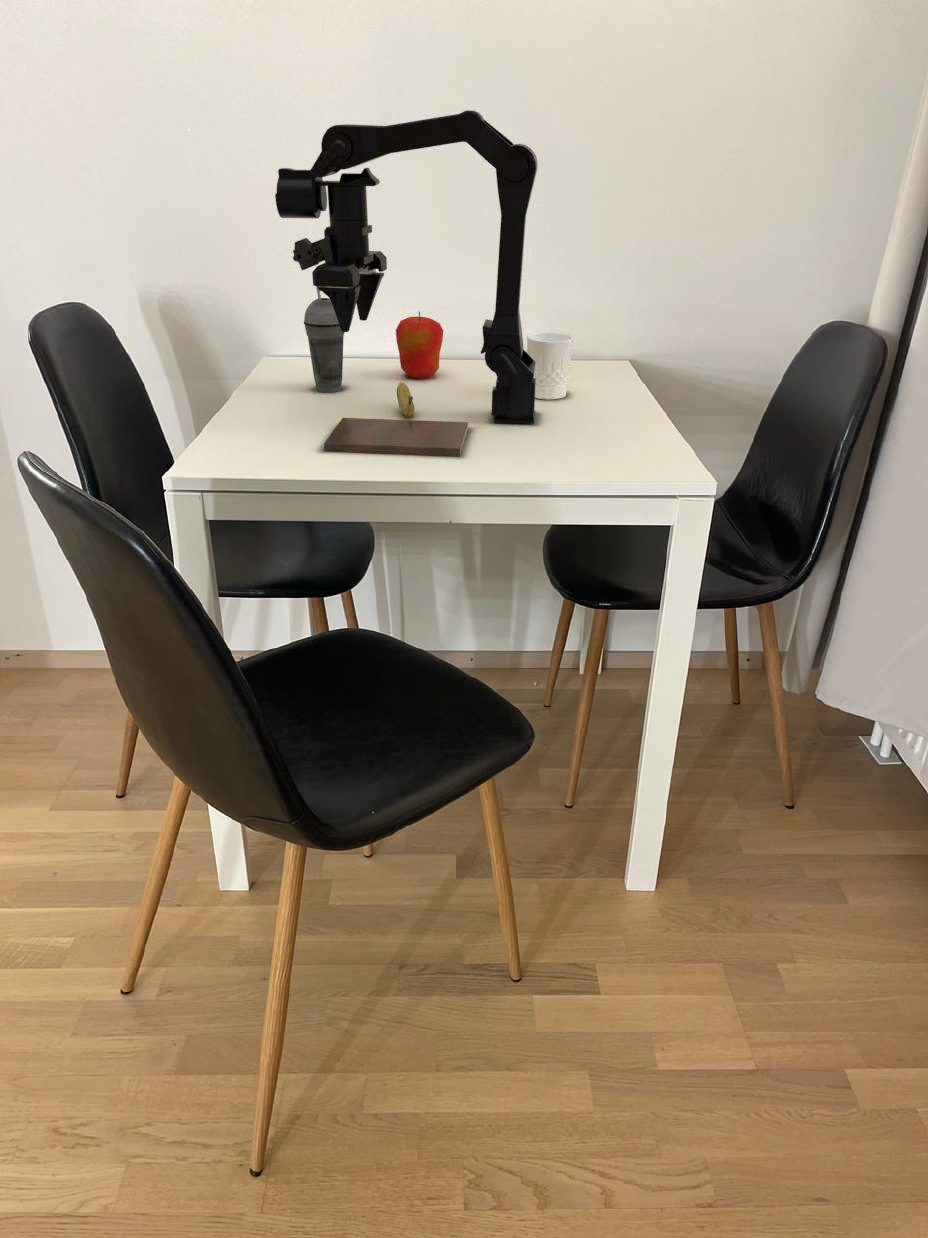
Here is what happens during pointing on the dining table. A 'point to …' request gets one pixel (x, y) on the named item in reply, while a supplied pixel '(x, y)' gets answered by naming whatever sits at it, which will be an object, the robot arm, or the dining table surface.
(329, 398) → the dining table surface
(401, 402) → the banana
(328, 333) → the beverage cup
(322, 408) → the dining table surface
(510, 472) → the dining table surface
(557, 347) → the white cup
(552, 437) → the dining table surface
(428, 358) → the apple
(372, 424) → the walnut board
